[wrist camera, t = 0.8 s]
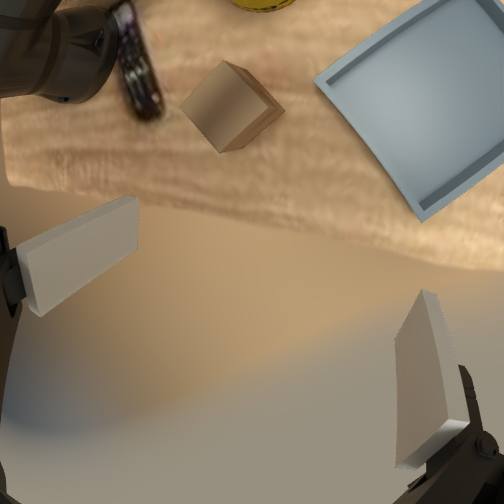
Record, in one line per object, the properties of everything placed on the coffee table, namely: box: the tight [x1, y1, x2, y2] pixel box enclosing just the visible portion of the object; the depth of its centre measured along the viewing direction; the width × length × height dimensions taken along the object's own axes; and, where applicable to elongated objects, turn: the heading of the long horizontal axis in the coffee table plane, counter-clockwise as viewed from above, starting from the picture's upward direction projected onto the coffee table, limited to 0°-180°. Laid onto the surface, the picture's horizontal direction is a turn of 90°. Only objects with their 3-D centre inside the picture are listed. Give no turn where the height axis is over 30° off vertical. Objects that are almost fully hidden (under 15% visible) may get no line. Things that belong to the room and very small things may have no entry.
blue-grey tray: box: [312, 0, 504, 223], centre depth 21 cm, size 16×22×4 cm
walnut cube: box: [180, 60, 285, 153], centre depth 27 cm, size 6×6×6 cm
